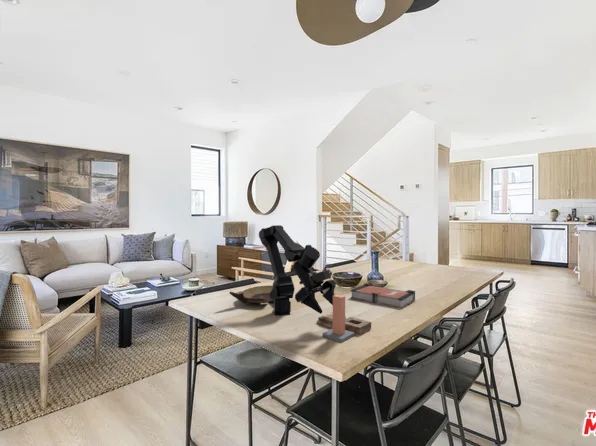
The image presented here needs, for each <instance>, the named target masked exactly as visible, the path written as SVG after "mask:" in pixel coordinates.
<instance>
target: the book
mask: <svg viewBox="0 0 596 446" xmlns="http://www.w3.org/2000/svg"><path fill="white" fill-rule="evenodd" d="M350 292H351V296H350V299H354V300H358V301H364V302H365V301H366V302H368V303H369V302H370V303H374V304H380V305H384V306H390V307H395V308H398V309H402V308H405V307H406V306H407V305H409V304H411V303H413V302H415V301H416V290H411V289H407V290H405V291H404V290H400V289H395V288H394V289H393V288H387V287H380V286H374V285H373V284H372V283H367V282H366V283H363V285H360V286H358V287H354V288H352V289H350Z"/></svg>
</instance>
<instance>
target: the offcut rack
mask: <svg viewBox="0 0 596 446" xmlns="http://www.w3.org/2000/svg"><path fill="white" fill-rule="evenodd" d="M346 317H347V316H346V315H345V330H347V331H351V332H354V333H355V334H356V335H363V334H364V333H366V332H368V331H369V330H372V321H368V320H365V319H360V318H357V317H353V316H349V317H347V318H346ZM317 318H318V319H317V320H316V324H317V325H320V326H324V327H327V328H331V329H332V327H333V311H331V312H328V313H326V314H323V315H321V316H318V317H317Z"/></svg>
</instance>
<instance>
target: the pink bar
mask: <svg viewBox="0 0 596 446" xmlns="http://www.w3.org/2000/svg"><path fill="white" fill-rule="evenodd" d="M332 312H333V327H332V328H331V329H332V333H335V334H338V335H342V334H344V333H345V316H346V295H341V294H334V296H333V305H332Z"/></svg>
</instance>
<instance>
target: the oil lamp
mask: <svg viewBox="0 0 596 446" xmlns="http://www.w3.org/2000/svg"><path fill="white" fill-rule="evenodd" d="M272 289H273V285H259V286H253V287H249V288H246V289H244V290H242V291H240V290H239V291H237V292H233V291H229V294H230V295H231V296H232V297H233V298H235V299H236V300H237V301H240V303H242V304H246V303H252V304H268V303H272V302H273V303H274V300H273V299H271V298H270V292H271V290H272Z"/></svg>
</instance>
